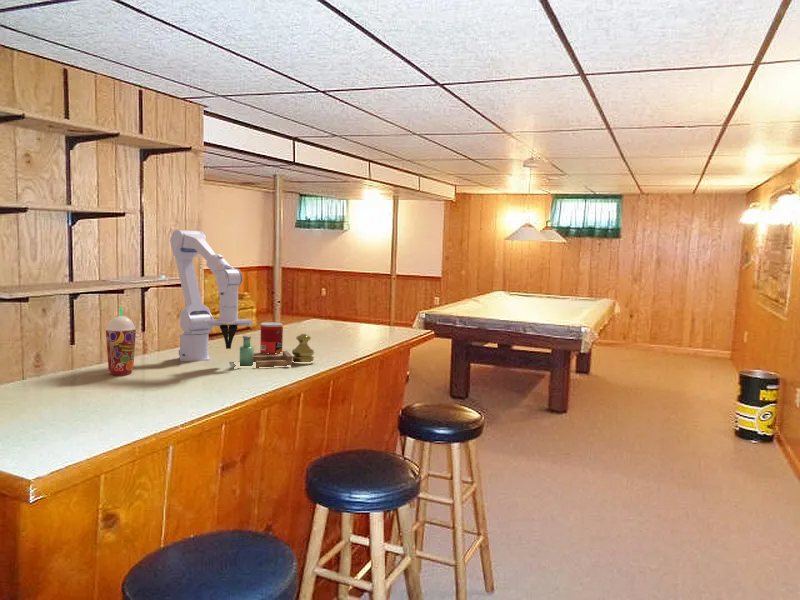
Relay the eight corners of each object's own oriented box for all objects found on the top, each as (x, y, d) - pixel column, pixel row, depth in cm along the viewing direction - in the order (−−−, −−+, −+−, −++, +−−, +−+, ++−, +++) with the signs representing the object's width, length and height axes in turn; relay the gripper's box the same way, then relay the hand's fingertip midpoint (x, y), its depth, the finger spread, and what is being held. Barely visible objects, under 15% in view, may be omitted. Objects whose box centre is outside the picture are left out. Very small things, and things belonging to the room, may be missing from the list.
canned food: (279, 355, 217) (280, 325, 216) (257, 354, 217) (258, 324, 216) (284, 352, 225) (285, 322, 224) (263, 351, 225) (263, 321, 224)
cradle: (232, 370, 190) (232, 358, 190) (229, 362, 201) (229, 351, 201) (292, 368, 197) (292, 356, 196) (286, 361, 208) (286, 350, 208)
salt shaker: (316, 361, 209) (316, 333, 208) (310, 365, 202) (311, 336, 201) (295, 360, 210) (295, 332, 209) (289, 364, 202) (289, 335, 202)
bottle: (240, 366, 195) (240, 337, 194) (238, 363, 199) (239, 335, 198) (254, 366, 196) (254, 337, 195) (252, 363, 200) (253, 335, 199)
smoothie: (124, 377, 175) (124, 309, 173) (99, 375, 177) (98, 307, 175) (142, 371, 183) (142, 306, 181) (117, 369, 185) (117, 304, 183)
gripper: (205, 307, 187) (205, 350, 189) (253, 307, 192) (252, 349, 194) (204, 305, 194) (204, 347, 195) (250, 305, 199) (250, 346, 200)
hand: (228, 348), depth 195 cm, fingers closed
